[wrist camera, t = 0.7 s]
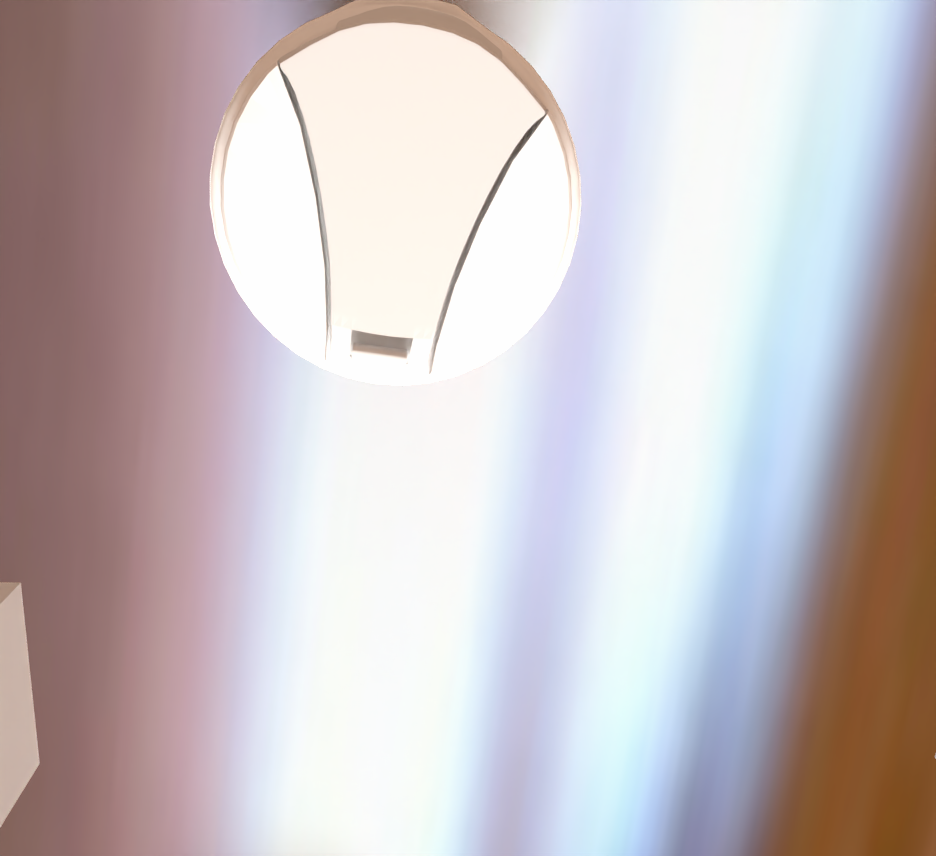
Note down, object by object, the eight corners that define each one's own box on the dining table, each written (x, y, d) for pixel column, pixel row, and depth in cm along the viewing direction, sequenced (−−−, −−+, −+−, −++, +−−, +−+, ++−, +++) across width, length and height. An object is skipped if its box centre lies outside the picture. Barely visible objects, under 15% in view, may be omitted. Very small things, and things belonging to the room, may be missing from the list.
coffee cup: (485, 318, 33) (555, 422, 19) (275, 287, 32) (181, 372, 18) (522, 96, 31) (634, 22, 17) (298, 55, 30) (212, -62, 16)
